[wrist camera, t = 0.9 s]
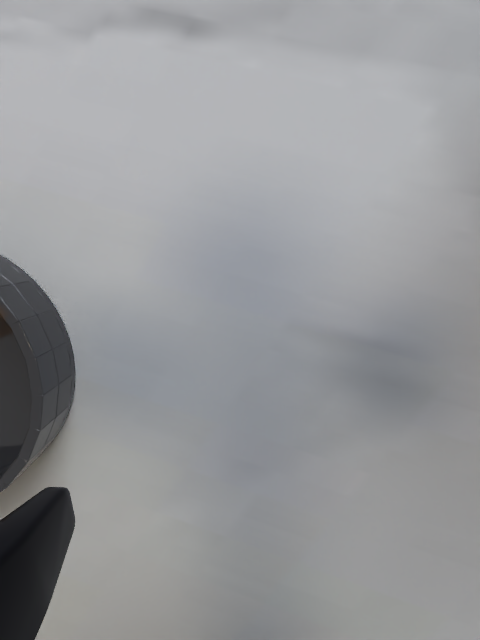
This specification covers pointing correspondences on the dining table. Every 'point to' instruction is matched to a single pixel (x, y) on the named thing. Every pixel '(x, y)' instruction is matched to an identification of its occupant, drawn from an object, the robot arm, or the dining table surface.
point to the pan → (30, 372)
